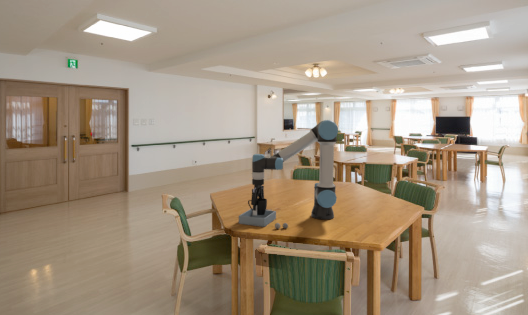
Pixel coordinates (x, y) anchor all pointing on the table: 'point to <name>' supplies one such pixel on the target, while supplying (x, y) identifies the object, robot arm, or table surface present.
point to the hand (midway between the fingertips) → (257, 213)
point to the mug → (260, 206)
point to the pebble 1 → (277, 225)
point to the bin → (257, 218)
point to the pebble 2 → (285, 225)
